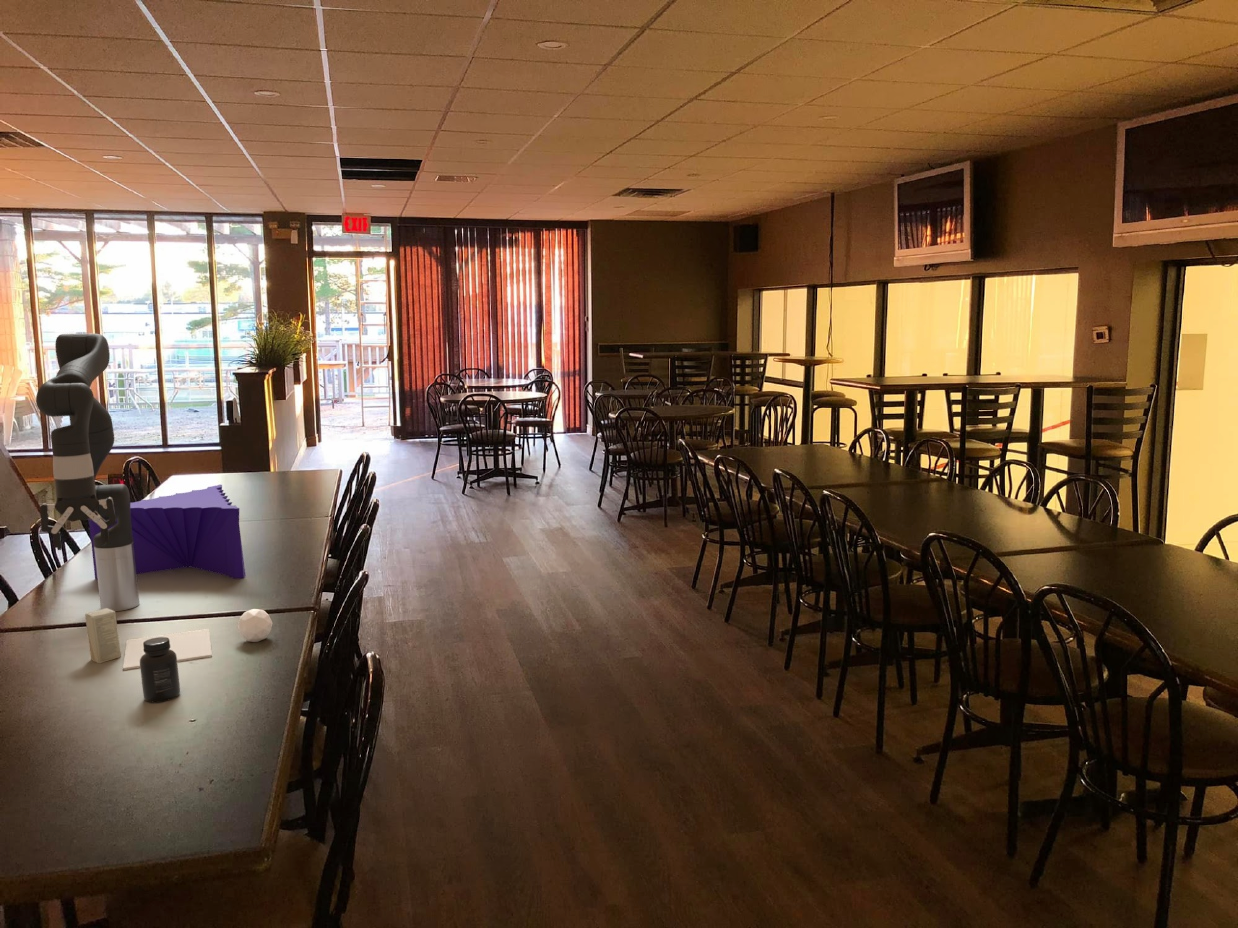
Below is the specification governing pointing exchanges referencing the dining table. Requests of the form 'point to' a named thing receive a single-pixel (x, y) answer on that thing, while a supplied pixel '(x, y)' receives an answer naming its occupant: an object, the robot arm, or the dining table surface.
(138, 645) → the mat
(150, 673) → the supplement bottle
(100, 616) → the box
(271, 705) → the dining table surface
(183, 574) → the dining table surface
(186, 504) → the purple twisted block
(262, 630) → the geometric ball
